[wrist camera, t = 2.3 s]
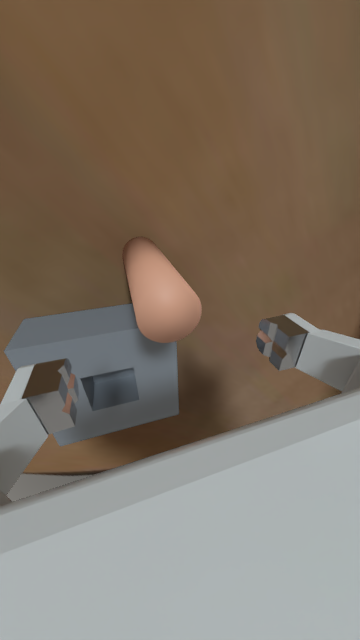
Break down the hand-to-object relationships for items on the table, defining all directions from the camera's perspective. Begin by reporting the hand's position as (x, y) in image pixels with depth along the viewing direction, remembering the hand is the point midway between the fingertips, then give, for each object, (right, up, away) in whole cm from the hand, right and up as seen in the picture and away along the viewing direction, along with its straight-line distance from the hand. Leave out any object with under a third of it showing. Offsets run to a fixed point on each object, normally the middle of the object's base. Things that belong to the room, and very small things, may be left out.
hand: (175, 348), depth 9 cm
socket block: (-8, -3, +17) cm, 19 cm away
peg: (-4, +7, +12) cm, 15 cm away
